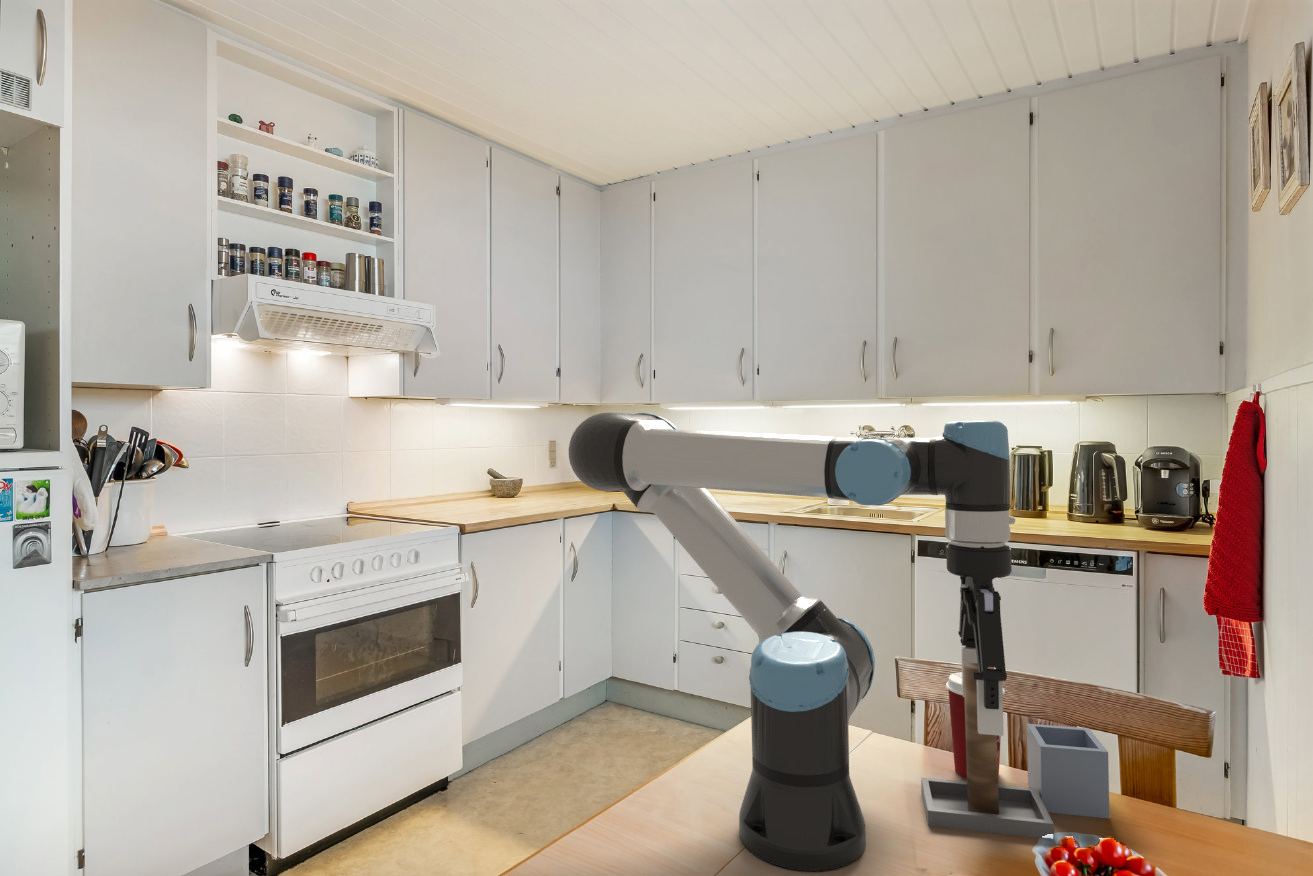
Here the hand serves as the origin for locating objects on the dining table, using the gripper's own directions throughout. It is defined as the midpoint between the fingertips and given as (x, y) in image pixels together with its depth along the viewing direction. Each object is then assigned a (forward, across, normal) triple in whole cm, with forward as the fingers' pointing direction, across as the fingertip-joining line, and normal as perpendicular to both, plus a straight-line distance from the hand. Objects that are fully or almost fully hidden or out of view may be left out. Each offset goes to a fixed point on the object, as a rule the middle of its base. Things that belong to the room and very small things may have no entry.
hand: (981, 714), depth 92 cm
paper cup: (+14, +12, -1) cm, 18 cm away
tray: (+13, 0, 0) cm, 13 cm away
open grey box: (+13, +6, -11) cm, 18 cm away
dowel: (+12, 0, 0) cm, 12 cm away
